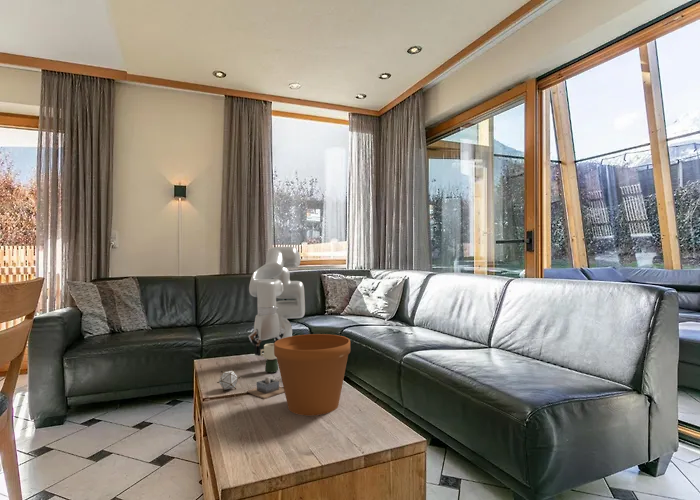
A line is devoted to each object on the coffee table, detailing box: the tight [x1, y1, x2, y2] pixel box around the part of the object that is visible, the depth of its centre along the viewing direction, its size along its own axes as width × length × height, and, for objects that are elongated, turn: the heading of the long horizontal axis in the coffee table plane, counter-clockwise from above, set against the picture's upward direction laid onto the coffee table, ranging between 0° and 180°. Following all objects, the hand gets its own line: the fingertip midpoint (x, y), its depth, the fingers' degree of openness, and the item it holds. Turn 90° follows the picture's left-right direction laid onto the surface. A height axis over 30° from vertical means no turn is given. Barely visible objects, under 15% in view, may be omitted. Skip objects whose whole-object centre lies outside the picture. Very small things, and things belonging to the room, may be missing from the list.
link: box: [256, 378, 280, 394], centre depth 160 cm, size 6×6×4 cm
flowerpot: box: [273, 333, 352, 417], centre depth 145 cm, size 28×28×24 cm
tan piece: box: [246, 376, 285, 400], centre depth 160 cm, size 12×12×6 cm
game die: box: [216, 368, 241, 392], centre depth 164 cm, size 9×8×10 cm
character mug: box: [259, 342, 279, 373], centre depth 188 cm, size 11×7×13 cm, turn 109°
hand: (267, 352), depth 161 cm, fingers open, 9 cm apart
